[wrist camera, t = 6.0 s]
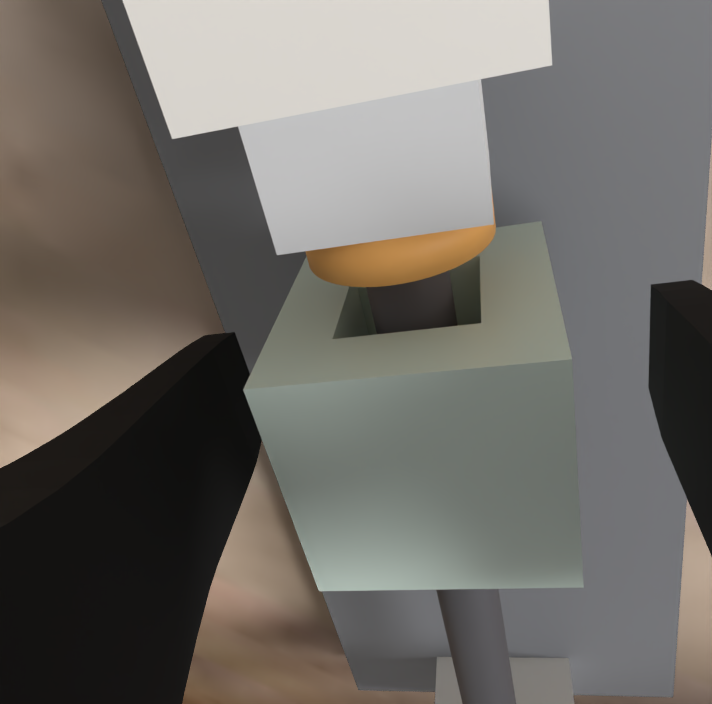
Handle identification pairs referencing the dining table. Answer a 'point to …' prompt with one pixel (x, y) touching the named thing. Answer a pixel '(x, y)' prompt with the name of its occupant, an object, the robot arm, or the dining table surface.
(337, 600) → the cord rig
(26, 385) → the dining table surface
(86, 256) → the dining table surface
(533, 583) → the marker sleeve
